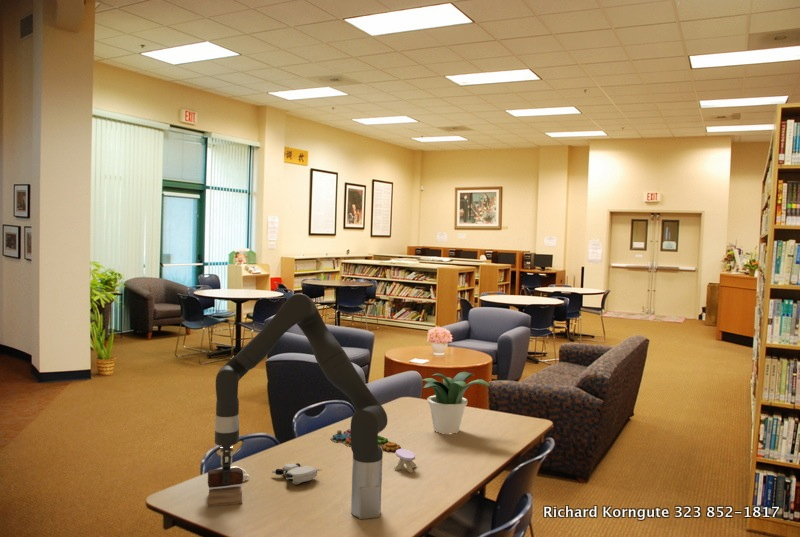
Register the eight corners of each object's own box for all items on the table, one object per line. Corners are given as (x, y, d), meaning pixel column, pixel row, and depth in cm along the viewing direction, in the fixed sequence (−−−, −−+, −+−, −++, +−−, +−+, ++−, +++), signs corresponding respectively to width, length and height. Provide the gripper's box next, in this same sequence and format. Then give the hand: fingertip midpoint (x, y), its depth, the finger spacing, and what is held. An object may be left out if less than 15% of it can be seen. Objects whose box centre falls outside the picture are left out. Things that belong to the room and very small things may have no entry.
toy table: (390, 464, 230) (390, 449, 230) (412, 462, 233) (412, 448, 232) (397, 474, 221) (398, 458, 220) (420, 472, 223) (421, 456, 223)
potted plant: (474, 448, 251) (476, 387, 250) (401, 432, 268) (403, 376, 267) (501, 429, 278) (503, 374, 277) (433, 416, 296) (435, 364, 295)
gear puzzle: (408, 448, 250) (409, 438, 250) (385, 458, 237) (385, 448, 237) (351, 432, 268) (351, 423, 268) (326, 441, 255) (326, 431, 255)
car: (242, 475, 215) (242, 462, 215) (250, 480, 211) (250, 467, 210) (209, 483, 207) (210, 469, 207) (217, 489, 203) (218, 475, 202)
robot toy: (269, 479, 214) (294, 489, 203) (269, 466, 214) (293, 476, 203) (298, 471, 222) (323, 480, 212) (298, 458, 222) (323, 467, 212)
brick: (208, 488, 190) (208, 474, 190) (207, 484, 194) (207, 469, 194) (243, 484, 194) (243, 470, 194) (241, 480, 198) (241, 466, 198)
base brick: (242, 503, 191) (242, 492, 191) (207, 506, 188) (208, 495, 188) (241, 491, 200) (241, 481, 200) (208, 494, 197) (208, 483, 197)
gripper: (239, 434, 188) (238, 488, 189) (238, 421, 201) (237, 471, 202) (214, 435, 186) (213, 490, 186) (215, 422, 199) (214, 473, 200)
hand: (225, 480), depth 194 cm, fingers closed on brick, 4 cm apart
